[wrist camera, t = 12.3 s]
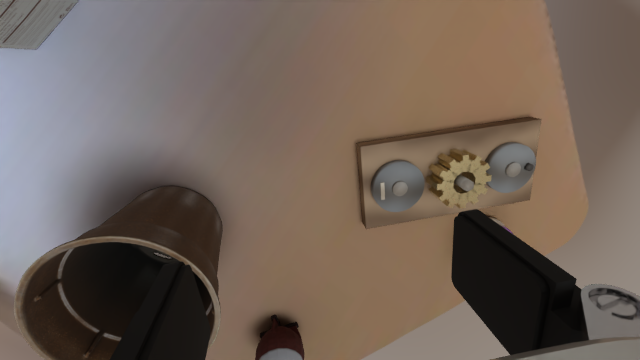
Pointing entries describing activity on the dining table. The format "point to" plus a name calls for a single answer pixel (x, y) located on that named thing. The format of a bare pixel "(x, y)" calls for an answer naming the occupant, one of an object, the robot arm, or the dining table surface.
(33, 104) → the dining table surface
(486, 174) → the brass gear
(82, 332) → the plant pot
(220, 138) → the dining table surface
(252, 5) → the dining table surface
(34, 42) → the supplement box
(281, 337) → the mate gourd
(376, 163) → the gear board
